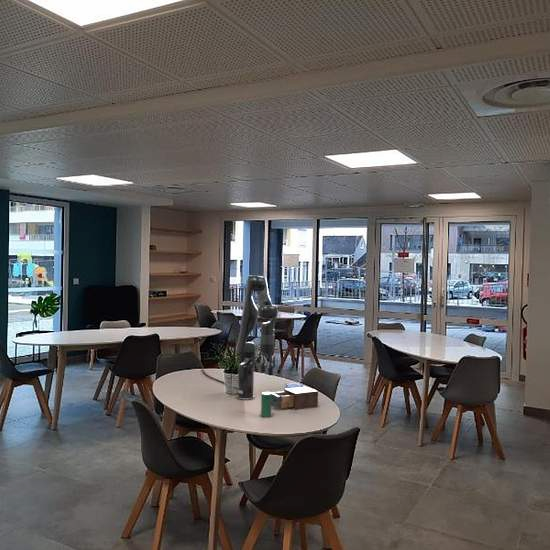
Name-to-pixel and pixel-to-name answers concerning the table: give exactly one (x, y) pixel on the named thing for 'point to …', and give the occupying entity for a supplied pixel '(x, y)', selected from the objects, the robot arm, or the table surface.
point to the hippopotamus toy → (293, 385)
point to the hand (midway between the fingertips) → (266, 373)
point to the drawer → (282, 399)
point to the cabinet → (304, 397)
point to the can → (266, 404)
